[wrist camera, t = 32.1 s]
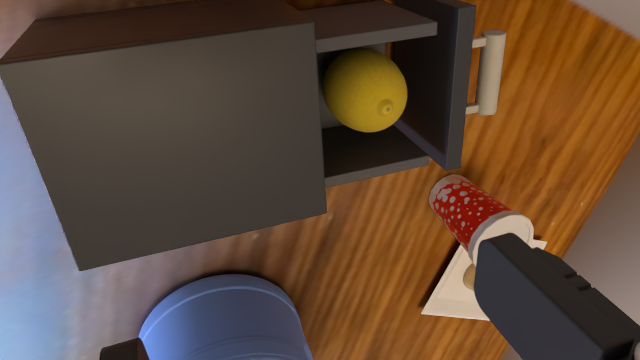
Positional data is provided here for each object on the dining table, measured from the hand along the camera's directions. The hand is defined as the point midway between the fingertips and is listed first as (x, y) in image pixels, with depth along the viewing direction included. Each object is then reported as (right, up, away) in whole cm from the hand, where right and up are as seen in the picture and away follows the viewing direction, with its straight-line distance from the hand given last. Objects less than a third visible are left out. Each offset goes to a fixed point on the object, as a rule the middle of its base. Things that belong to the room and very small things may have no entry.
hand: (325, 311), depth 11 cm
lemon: (+2, +11, +27) cm, 29 cm away
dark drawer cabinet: (-11, +9, +25) cm, 29 cm away
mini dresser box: (+2, +12, +28) cm, 30 cm away
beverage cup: (+13, +2, +39) cm, 41 cm away
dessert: (+18, -8, +46) cm, 50 cm away
